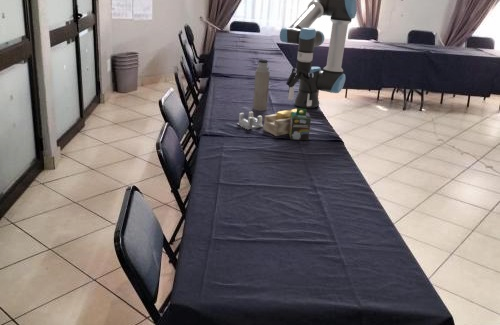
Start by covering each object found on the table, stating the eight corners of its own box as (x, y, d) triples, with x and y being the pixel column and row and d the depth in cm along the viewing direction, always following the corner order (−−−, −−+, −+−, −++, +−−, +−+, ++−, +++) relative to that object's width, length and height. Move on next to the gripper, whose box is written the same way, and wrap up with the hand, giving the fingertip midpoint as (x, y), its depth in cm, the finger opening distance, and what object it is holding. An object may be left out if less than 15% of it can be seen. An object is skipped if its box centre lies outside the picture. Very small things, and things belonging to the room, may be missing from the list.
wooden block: (296, 117, 234) (297, 108, 233) (302, 119, 231) (303, 111, 229) (276, 120, 226) (276, 112, 225) (281, 123, 223) (282, 114, 221)
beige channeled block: (287, 125, 237) (288, 111, 234) (300, 131, 229) (301, 117, 226) (263, 129, 227) (264, 115, 224) (276, 135, 220) (277, 121, 217)
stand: (252, 122, 238) (253, 111, 235) (263, 127, 231) (263, 116, 229) (237, 124, 232) (237, 113, 230) (247, 130, 226) (248, 118, 223)
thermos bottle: (267, 107, 265) (271, 59, 254) (265, 111, 258) (269, 62, 247) (254, 106, 266) (257, 58, 255) (251, 109, 259) (255, 60, 248)
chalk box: (306, 134, 225) (310, 106, 220) (308, 140, 217) (312, 111, 211) (288, 133, 225) (291, 104, 219) (289, 139, 217) (293, 110, 211)
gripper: (282, 56, 228) (278, 97, 236) (317, 65, 210) (311, 109, 218) (293, 56, 232) (288, 96, 240) (328, 65, 214) (322, 108, 222)
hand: (299, 102), depth 229 cm, fingers open, 13 cm apart
